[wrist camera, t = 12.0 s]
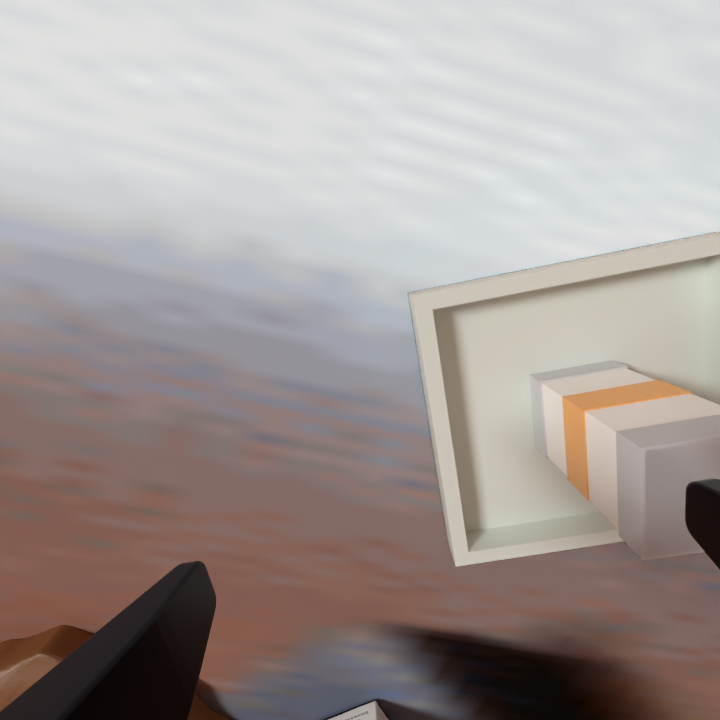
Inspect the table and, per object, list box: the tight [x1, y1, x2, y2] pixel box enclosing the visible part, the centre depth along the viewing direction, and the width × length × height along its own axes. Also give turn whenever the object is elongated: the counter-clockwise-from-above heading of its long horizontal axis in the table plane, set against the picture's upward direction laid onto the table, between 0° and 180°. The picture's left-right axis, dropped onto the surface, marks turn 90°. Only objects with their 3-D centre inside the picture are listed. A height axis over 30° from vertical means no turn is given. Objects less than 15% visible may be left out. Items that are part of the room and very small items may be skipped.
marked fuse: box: [529, 360, 720, 561], centre depth 16 cm, size 4×4×8 cm
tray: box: [408, 232, 720, 566], centre depth 19 cm, size 15×15×2 cm
